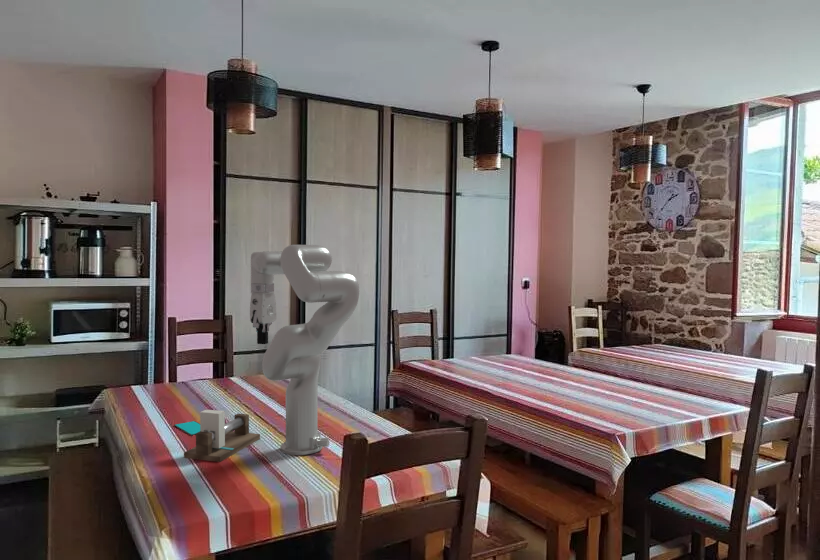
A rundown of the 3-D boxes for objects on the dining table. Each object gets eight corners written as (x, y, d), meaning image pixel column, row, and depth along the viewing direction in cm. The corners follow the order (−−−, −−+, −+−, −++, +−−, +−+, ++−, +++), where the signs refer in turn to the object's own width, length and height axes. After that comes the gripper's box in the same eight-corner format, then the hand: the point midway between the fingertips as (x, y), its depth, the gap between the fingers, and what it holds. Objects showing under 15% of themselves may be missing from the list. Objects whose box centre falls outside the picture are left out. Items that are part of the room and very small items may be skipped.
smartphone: (191, 434, 191) (173, 424, 202) (191, 437, 191) (173, 427, 202) (213, 430, 196) (194, 420, 207) (213, 433, 196) (194, 423, 207)
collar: (224, 445, 175) (224, 411, 174) (219, 448, 172) (218, 413, 171) (206, 443, 176) (206, 409, 176) (200, 446, 174) (200, 412, 173)
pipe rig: (260, 438, 189) (260, 415, 188) (220, 461, 168) (220, 435, 167) (227, 435, 192) (226, 412, 192) (183, 457, 171) (183, 432, 170)
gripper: (261, 290, 188) (261, 347, 189) (283, 287, 202) (283, 341, 203) (240, 289, 190) (240, 346, 191) (263, 287, 204) (263, 340, 205)
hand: (262, 343), depth 197 cm, fingers closed
